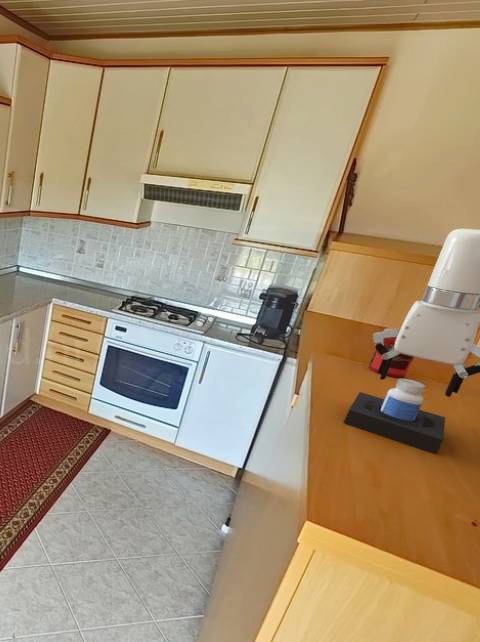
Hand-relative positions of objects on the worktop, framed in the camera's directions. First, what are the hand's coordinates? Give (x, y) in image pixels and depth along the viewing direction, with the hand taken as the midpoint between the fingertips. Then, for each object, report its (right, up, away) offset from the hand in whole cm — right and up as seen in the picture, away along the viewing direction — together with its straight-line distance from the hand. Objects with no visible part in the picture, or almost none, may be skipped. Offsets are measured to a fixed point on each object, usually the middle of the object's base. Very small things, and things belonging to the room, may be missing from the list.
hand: (414, 386), depth 94 cm
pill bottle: (-1, -9, +4) cm, 9 cm away
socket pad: (-1, -8, +4) cm, 9 cm away
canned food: (+25, +1, +35) cm, 43 cm away
